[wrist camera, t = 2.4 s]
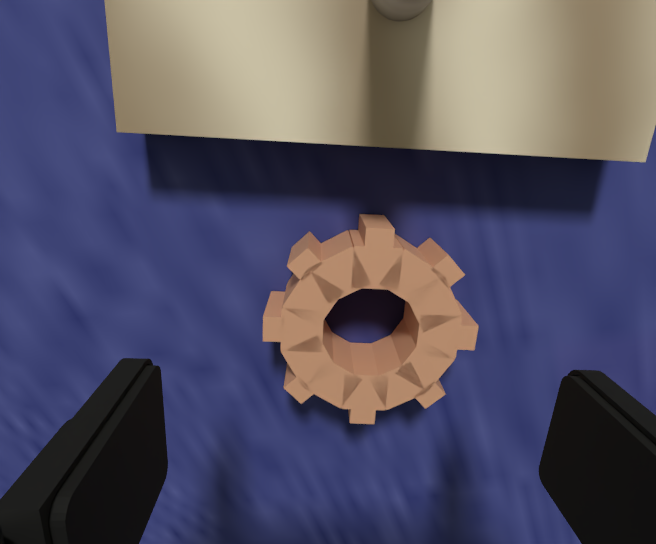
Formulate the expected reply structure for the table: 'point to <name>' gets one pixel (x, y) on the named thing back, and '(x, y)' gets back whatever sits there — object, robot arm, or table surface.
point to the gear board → (392, 73)
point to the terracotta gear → (385, 354)
